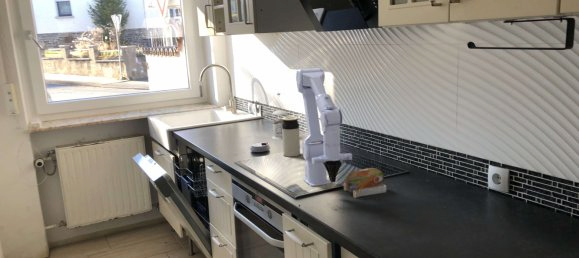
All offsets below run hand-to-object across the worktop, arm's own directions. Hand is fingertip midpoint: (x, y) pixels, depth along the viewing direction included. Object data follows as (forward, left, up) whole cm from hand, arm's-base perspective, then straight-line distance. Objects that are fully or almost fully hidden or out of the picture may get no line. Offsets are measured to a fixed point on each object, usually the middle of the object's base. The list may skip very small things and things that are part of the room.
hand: (332, 181), depth 170 cm
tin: (0, +12, -6) cm, 14 cm away
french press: (-102, +14, -6) cm, 103 cm away
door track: (0, +13, -5) cm, 14 cm away
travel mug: (-62, +6, -6) cm, 63 cm away
